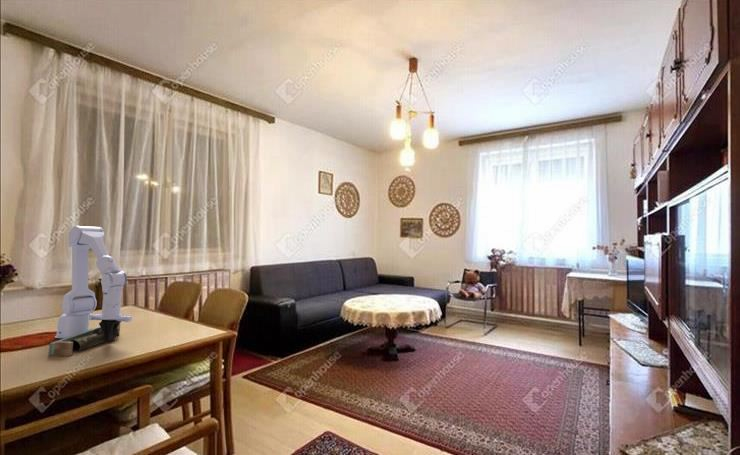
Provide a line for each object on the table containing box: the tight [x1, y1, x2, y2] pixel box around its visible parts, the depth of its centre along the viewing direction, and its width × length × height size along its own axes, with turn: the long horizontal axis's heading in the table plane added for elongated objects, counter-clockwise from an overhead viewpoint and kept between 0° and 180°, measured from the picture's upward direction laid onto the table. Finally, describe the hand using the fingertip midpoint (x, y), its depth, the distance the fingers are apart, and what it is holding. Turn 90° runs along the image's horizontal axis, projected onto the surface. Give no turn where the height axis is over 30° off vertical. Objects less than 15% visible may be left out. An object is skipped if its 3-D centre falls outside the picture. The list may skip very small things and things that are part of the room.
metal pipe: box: [70, 327, 121, 353], centre depth 136 cm, size 18×7×6 cm, turn 171°
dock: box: [48, 323, 121, 357], centre depth 135 cm, size 6×27×4 cm, turn 3°
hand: (108, 339), depth 136 cm, fingers closed
